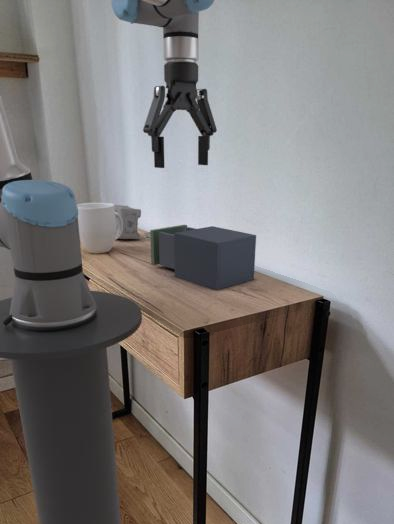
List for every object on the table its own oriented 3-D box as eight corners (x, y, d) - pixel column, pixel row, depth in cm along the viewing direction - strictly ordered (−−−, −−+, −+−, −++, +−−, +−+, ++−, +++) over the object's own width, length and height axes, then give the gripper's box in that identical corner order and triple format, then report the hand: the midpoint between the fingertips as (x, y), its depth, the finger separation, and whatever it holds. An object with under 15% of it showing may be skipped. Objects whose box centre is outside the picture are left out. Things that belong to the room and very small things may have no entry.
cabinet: (174, 276, 118) (173, 232, 114) (211, 267, 126) (212, 226, 121) (216, 290, 108) (217, 243, 104) (253, 279, 116) (256, 235, 112)
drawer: (139, 260, 128) (137, 227, 124) (172, 253, 135) (171, 221, 131) (185, 275, 116) (185, 238, 112) (219, 267, 123) (220, 232, 119)
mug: (111, 243, 151) (108, 199, 146) (135, 248, 145) (132, 203, 139) (71, 251, 141) (66, 205, 136) (95, 257, 135) (91, 209, 129)
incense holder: (142, 239, 157) (141, 206, 152) (120, 242, 152) (117, 208, 148) (128, 234, 164) (126, 202, 159) (105, 237, 159) (103, 204, 155)
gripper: (210, 68, 116) (209, 163, 124) (123, 58, 100) (129, 167, 109) (233, 65, 111) (230, 164, 119) (145, 55, 95) (149, 170, 104)
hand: (182, 166), depth 114 cm, fingers open, 13 cm apart
